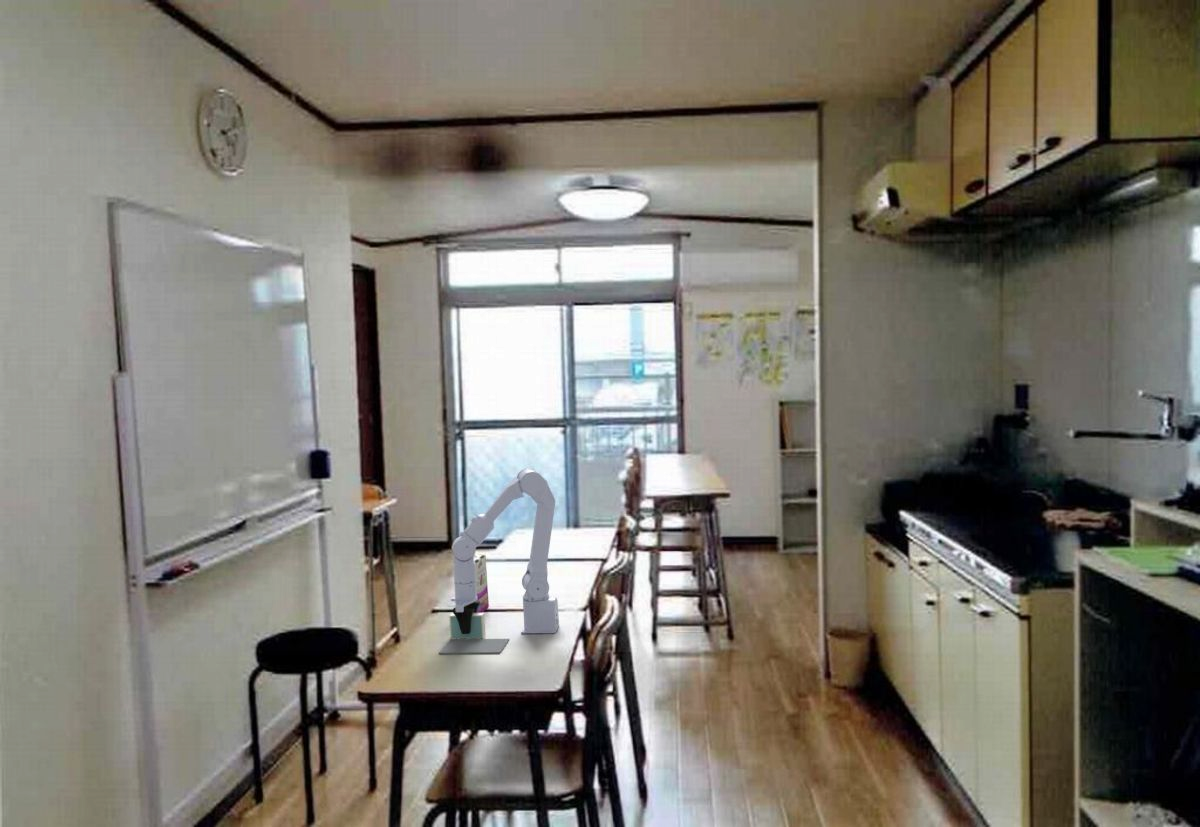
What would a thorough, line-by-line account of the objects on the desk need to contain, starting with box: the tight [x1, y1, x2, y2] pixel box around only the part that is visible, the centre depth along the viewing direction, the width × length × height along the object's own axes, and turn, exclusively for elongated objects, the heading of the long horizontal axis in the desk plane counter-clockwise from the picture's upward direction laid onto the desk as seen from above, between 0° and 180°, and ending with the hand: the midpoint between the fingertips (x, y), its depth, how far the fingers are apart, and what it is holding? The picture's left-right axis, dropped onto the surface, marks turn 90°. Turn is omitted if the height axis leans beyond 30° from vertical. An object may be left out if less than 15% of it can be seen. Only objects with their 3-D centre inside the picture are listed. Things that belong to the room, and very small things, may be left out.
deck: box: [449, 612, 486, 639], centre depth 238 cm, size 9×2×6 cm, turn 84°
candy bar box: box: [474, 553, 490, 613], centre depth 262 cm, size 11×5×16 cm, turn 168°
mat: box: [438, 638, 510, 655], centre depth 229 cm, size 16×11×1 cm
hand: (467, 631), depth 238 cm, fingers open, 4 cm apart
